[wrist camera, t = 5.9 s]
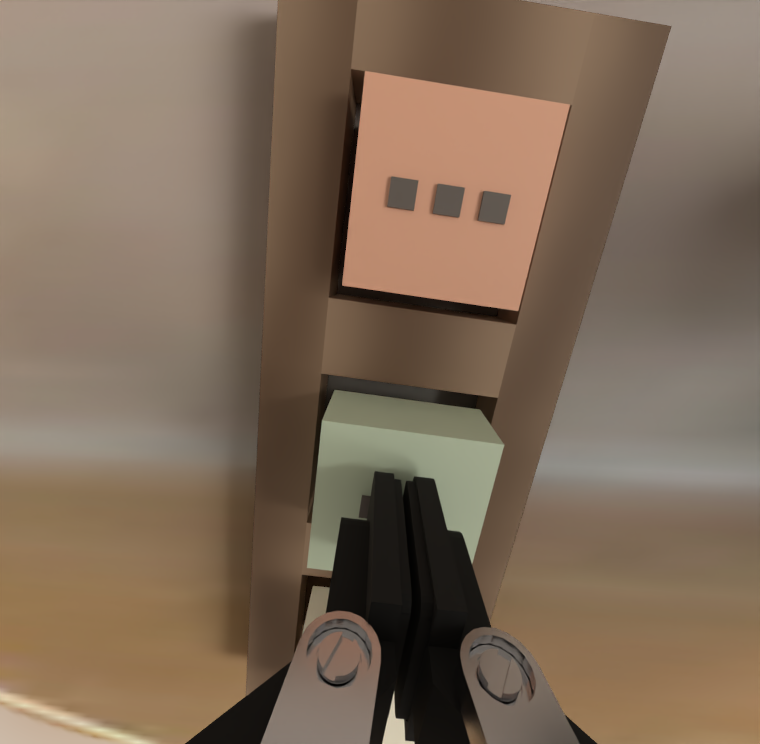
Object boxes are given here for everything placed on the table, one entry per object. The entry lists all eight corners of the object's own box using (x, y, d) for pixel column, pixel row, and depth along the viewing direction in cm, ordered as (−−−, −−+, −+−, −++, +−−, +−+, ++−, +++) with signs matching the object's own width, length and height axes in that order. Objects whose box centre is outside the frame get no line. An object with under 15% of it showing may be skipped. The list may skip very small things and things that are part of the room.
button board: (620, 69, 11) (671, 26, 9) (449, 680, 18) (457, 727, 17) (299, 15, 11) (279, -42, 9) (259, 658, 18) (245, 704, 16)
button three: (528, 141, 11) (571, 102, 8) (491, 303, 12) (519, 311, 10) (369, 115, 11) (364, 68, 8) (350, 282, 12) (341, 285, 10)
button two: (480, 409, 12) (505, 446, 9) (451, 530, 13) (466, 589, 11) (334, 389, 12) (321, 421, 9) (320, 513, 13) (306, 570, 11)
